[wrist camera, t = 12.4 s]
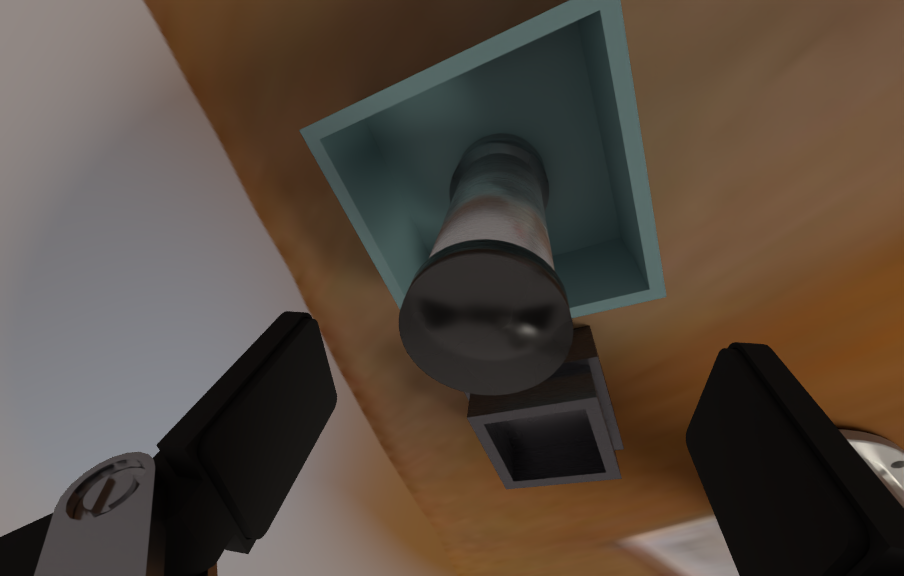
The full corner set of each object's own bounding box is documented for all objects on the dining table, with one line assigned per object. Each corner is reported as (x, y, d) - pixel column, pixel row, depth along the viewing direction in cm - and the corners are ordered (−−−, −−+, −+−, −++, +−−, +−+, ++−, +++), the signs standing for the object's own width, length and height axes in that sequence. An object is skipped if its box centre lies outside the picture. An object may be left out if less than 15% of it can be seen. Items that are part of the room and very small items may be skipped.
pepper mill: (551, 134, 19) (600, 257, 8) (540, 224, 22) (565, 408, 11) (455, 132, 20) (382, 244, 9) (455, 220, 22) (398, 390, 11)
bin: (632, 238, 22) (666, 297, 17) (441, 291, 26) (423, 351, 21) (586, -3, 17) (617, -23, 12) (352, 108, 20) (298, 130, 15)
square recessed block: (614, 414, 30) (632, 483, 25) (503, 430, 32) (500, 494, 28) (589, 325, 26) (605, 387, 21) (464, 352, 28) (454, 412, 24)
